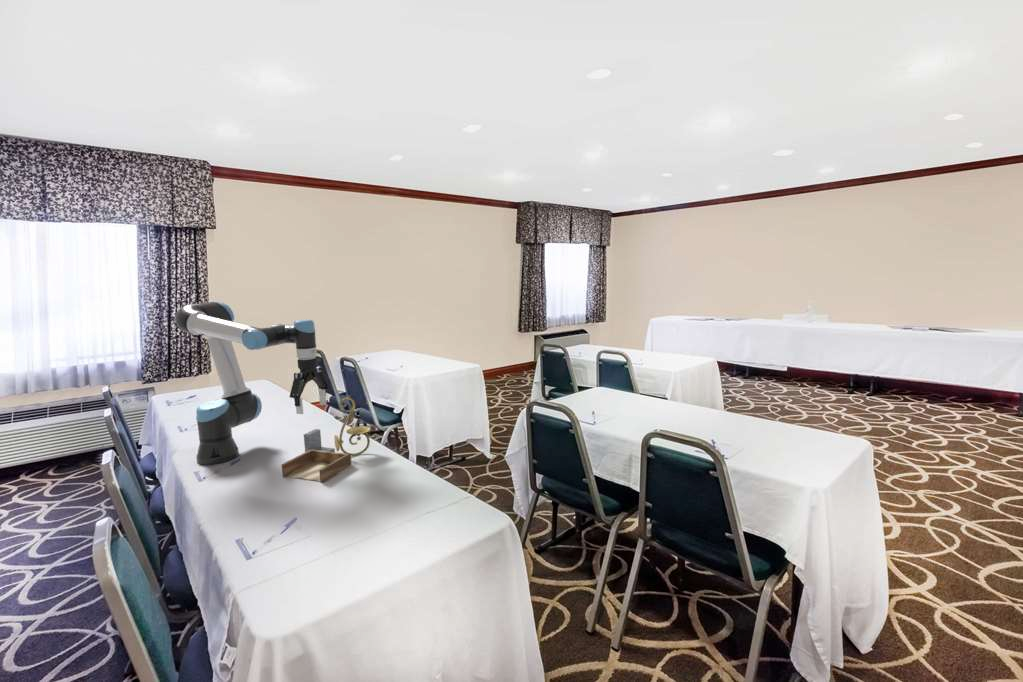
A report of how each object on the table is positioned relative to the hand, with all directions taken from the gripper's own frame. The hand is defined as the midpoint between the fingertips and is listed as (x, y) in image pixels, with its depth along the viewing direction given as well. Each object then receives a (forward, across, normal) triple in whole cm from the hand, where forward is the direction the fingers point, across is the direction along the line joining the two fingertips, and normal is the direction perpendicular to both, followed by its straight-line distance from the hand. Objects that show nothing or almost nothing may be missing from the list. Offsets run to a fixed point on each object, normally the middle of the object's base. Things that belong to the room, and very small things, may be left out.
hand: (311, 409), depth 205 cm
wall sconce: (+20, +4, -16) cm, 26 cm away
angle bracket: (+20, 0, -2) cm, 20 cm away
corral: (+20, -14, -12) cm, 27 cm away
